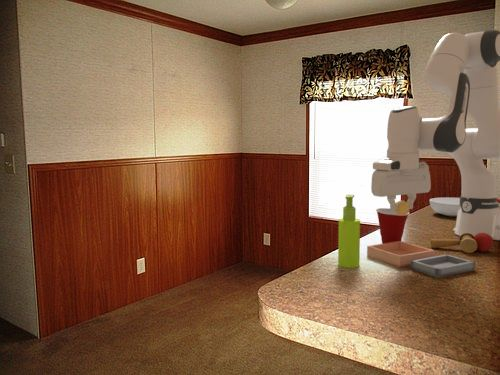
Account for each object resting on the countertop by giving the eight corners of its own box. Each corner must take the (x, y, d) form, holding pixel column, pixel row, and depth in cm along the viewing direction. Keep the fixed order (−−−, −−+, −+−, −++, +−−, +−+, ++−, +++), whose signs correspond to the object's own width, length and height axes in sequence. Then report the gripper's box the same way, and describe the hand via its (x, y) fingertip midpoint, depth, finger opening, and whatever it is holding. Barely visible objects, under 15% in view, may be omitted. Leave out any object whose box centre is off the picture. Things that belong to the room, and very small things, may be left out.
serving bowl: (424, 216, 196) (424, 201, 196) (434, 210, 213) (435, 196, 213) (475, 221, 185) (476, 205, 184) (481, 213, 202) (482, 199, 201)
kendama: (432, 255, 137) (496, 252, 130) (430, 235, 137) (493, 231, 131) (432, 253, 144) (492, 250, 137) (429, 234, 144) (490, 230, 138)
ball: (401, 213, 130) (401, 199, 129) (412, 215, 126) (413, 201, 125) (390, 214, 128) (390, 200, 127) (401, 217, 124) (401, 202, 123)
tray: (446, 262, 124) (446, 254, 124) (474, 270, 116) (475, 261, 116) (410, 268, 118) (411, 260, 118) (437, 278, 110) (438, 269, 110)
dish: (399, 250, 137) (400, 241, 137) (434, 261, 125) (434, 250, 125) (367, 256, 131) (367, 246, 131) (399, 267, 119) (400, 256, 119)
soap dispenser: (360, 262, 125) (361, 194, 123) (358, 268, 119) (359, 197, 117) (340, 260, 127) (340, 193, 125) (337, 267, 121) (337, 196, 119)
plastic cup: (411, 249, 138) (412, 213, 137) (376, 248, 140) (377, 212, 139) (406, 241, 149) (407, 207, 148) (374, 240, 151) (374, 207, 150)
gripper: (419, 160, 132) (418, 205, 134) (368, 163, 123) (367, 211, 125) (436, 161, 127) (435, 208, 128) (383, 164, 118) (383, 214, 119)
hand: (401, 209), depth 127 cm, fingers closed on ball, 4 cm apart
